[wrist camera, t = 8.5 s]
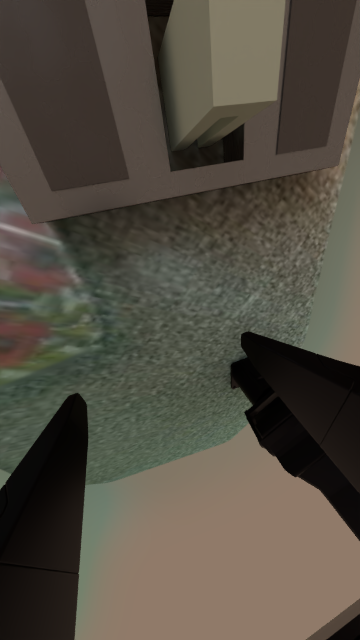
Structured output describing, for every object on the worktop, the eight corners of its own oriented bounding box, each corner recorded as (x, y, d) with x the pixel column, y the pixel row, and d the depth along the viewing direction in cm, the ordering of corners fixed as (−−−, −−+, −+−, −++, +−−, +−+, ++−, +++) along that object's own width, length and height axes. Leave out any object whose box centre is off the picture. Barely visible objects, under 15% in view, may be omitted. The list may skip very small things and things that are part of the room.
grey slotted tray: (308, 171, 19) (339, 165, 17) (45, 222, 14) (31, 223, 12) (343, -21, 13) (398, -77, 11) (-87, -40, 8) (-172, -149, 6)
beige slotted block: (210, 146, 15) (276, 100, 9) (171, 151, 15) (213, 106, 9) (206, 54, 13) (293, -93, 7) (157, 57, 12) (204, -105, 6)
